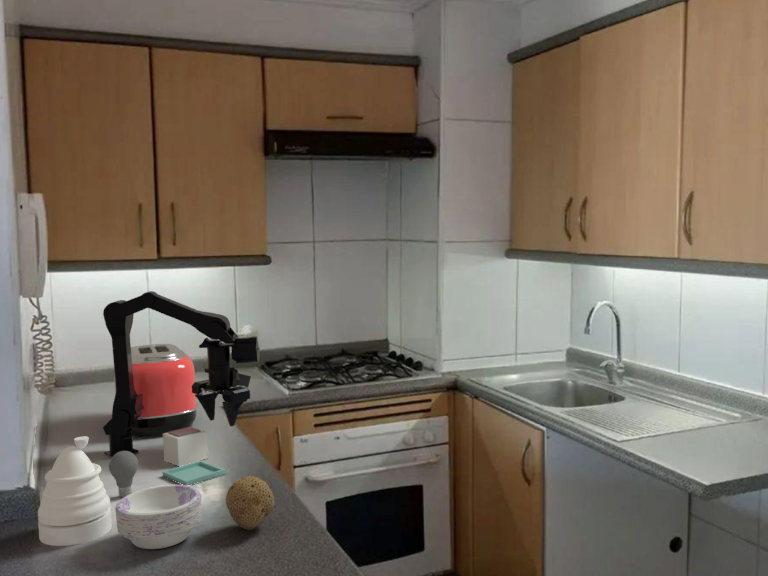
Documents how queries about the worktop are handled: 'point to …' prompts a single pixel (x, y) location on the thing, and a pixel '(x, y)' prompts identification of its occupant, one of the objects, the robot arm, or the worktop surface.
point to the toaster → (163, 389)
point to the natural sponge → (249, 501)
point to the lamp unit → (185, 446)
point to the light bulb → (123, 471)
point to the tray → (194, 473)
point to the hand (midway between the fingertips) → (221, 423)
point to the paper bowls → (159, 515)
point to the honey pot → (73, 500)
